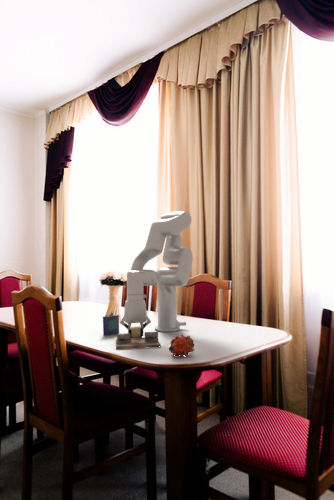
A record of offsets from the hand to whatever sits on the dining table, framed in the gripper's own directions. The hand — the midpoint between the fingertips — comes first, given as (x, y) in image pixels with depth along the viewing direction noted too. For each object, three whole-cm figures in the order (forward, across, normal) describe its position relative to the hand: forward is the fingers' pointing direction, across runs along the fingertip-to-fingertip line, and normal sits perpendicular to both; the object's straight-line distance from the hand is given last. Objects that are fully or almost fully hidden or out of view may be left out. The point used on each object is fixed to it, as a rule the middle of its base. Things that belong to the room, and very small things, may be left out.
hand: (135, 337), depth 171 cm
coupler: (0, 0, 0) cm, 0 cm away
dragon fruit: (+1, -15, +34) cm, 37 cm away
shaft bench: (0, 0, +12) cm, 12 cm away
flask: (+1, +11, -12) cm, 16 cm away
